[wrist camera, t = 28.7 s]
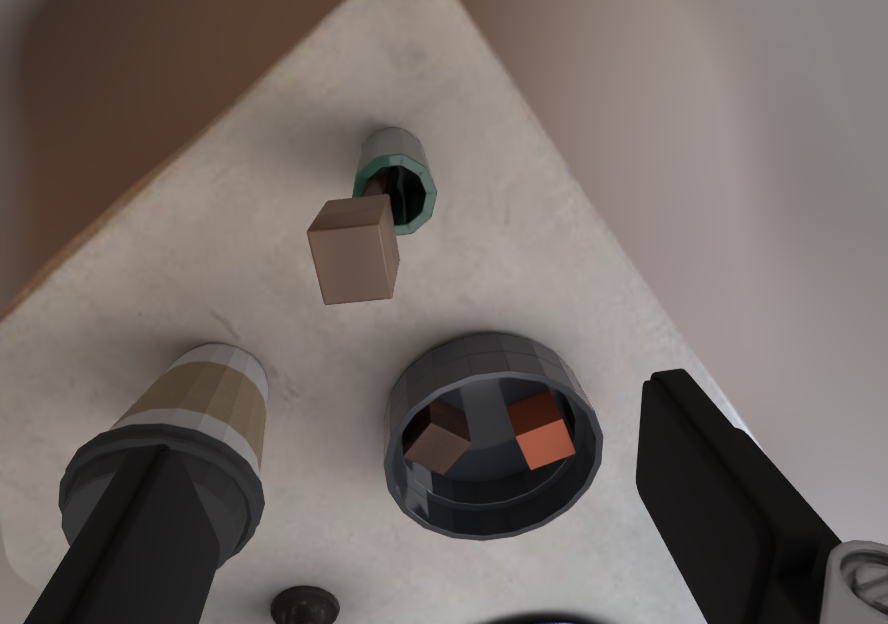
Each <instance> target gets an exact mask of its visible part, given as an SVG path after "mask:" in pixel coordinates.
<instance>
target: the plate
mask: <svg viewBox="0 0 888 624" xmlns="http://www.w3.org/2000/svg"><path fill="white" fill-rule="evenodd" d="M535 624H577V623H569V622H555V623H535Z"/></svg>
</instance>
